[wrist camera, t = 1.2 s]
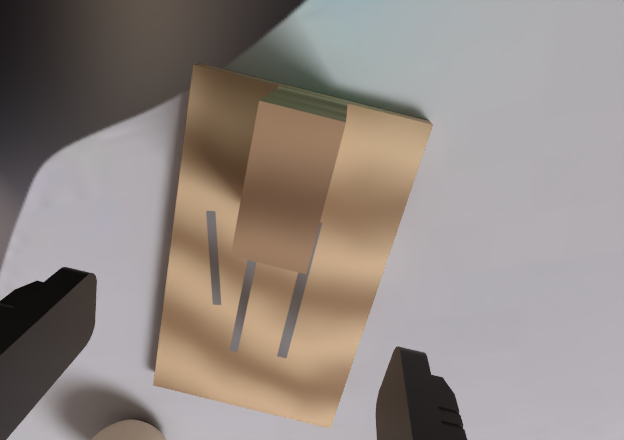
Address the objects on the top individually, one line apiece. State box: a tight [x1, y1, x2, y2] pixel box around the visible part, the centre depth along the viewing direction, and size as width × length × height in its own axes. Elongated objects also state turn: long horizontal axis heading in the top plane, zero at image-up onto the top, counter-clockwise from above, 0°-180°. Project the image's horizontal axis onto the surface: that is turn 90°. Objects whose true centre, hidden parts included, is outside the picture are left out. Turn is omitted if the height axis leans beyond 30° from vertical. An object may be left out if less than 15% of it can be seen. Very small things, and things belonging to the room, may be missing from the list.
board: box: [153, 63, 433, 428], centre depth 31 cm, size 24×14×1 cm, turn 167°
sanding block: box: [231, 86, 348, 274], centre depth 25 cm, size 8×4×6 cm, turn 167°
